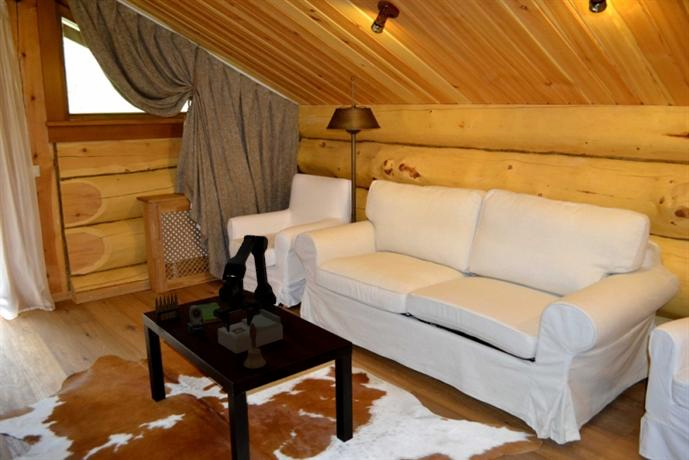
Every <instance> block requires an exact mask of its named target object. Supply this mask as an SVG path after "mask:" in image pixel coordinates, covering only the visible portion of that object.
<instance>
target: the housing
mask: <svg viewBox="0 0 689 460" xmlns="http://www.w3.org/2000/svg"><path fill="white" fill-rule="evenodd" d="M283 329H284V328H283V324H281V325H278V326H275V327H272V328H269V329H265V330H262V331H257V330H256V331H257V335H256V347H257V348H260V347H261V346H264V345H267V344H271V343H274V342H278V341H279V340H283V339H284V334H283V331H284V330H283ZM237 330H242V331H243V332H241V333H238V334H235V331H237ZM249 330H250V326H247V325H246V324H244V323H242V321H240V322H236V323H235V324H230V332H227V330H226V328H225V326H223V327H219V328H217V340H218V343H217V344H220V345H221V346H223V347H224V348H225V349H227V350H229V351H231V352H232V353H234V354H239V353H243V352H246V351H247V352H248V351H249V350H250V349H252V340H251V337H250V332H249Z"/></svg>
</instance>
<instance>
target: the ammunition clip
mask: <svg viewBox="0 0 689 460" xmlns="http://www.w3.org/2000/svg"><path fill="white" fill-rule="evenodd" d="M162 298H163V299H162ZM154 303H155V307H154V308H155V309H154V310H155V324H156V325H159V323H160V324H163V322H164V323H167V321H168V322H171V321H174V320H175V319H176V320H179V319H181V313H180V308H179V300H178V294H177V293H174V295H173V293H172V294H171V295H170V296H169V294H167V296H165V295H163V297H162V296H159V299H158V297H155V302H154Z"/></svg>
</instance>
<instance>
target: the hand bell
mask: <svg viewBox="0 0 689 460" xmlns="http://www.w3.org/2000/svg"><path fill="white" fill-rule="evenodd" d="M249 332H250V337H251V340H252V349H250V350H247V352H248V353H247V358H246V359H245V361H244V362H243V366H244V367H245V368H247V369H253V370H255V369H260V368H262V367H264V366H266V364H267V360H265V358H263V356H262V353H261V349H260V348H259V347H256V335H257V331H256V327H255V325H254V323H251V326H250V330H249Z"/></svg>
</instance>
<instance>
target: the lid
mask: <svg viewBox="0 0 689 460" xmlns="http://www.w3.org/2000/svg"><path fill="white" fill-rule="evenodd" d="M274 314H275V313H274ZM274 314H272V313H270V312H268V311H266V310H264V309H261V310H260V315H257V314H255V316H254V317H253V319H252V322H251V323H254V325H255V327H256V330H257V331H262V330H265V329H269V328H272V327H275V326H278V325H282V323H281V321H282V320H281V317H280V316H279V315H277V314H275V315H274ZM241 322H242V323H244V324H246V325H247V317H246V318H242V319H241ZM250 326H251V324H250Z"/></svg>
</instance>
